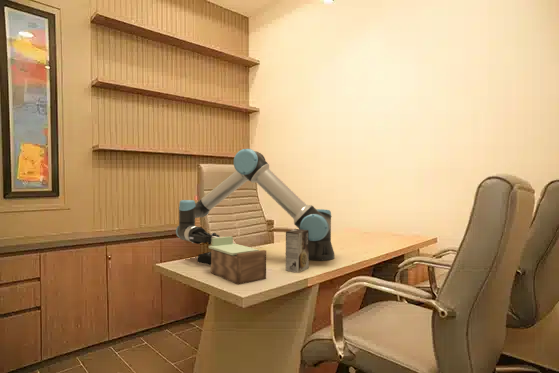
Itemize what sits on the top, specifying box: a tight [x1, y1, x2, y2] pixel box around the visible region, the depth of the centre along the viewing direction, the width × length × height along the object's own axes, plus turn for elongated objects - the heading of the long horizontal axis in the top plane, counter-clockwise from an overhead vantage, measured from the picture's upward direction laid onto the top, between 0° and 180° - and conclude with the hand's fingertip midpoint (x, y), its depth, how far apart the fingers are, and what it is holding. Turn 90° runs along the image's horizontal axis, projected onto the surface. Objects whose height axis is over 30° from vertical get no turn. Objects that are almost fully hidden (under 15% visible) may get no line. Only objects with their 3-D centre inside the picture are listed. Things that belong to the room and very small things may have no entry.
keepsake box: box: [210, 249, 267, 285], centre depth 132 cm, size 20×12×10 cm, turn 39°
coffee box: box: [285, 228, 309, 273], centre depth 143 cm, size 9×6×16 cm
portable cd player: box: [197, 251, 211, 266], centre depth 157 cm, size 16×17×4 cm
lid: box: [208, 235, 260, 256], centre depth 135 cm, size 18×12×4 cm, turn 39°
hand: (220, 241), depth 142 cm, fingers closed
